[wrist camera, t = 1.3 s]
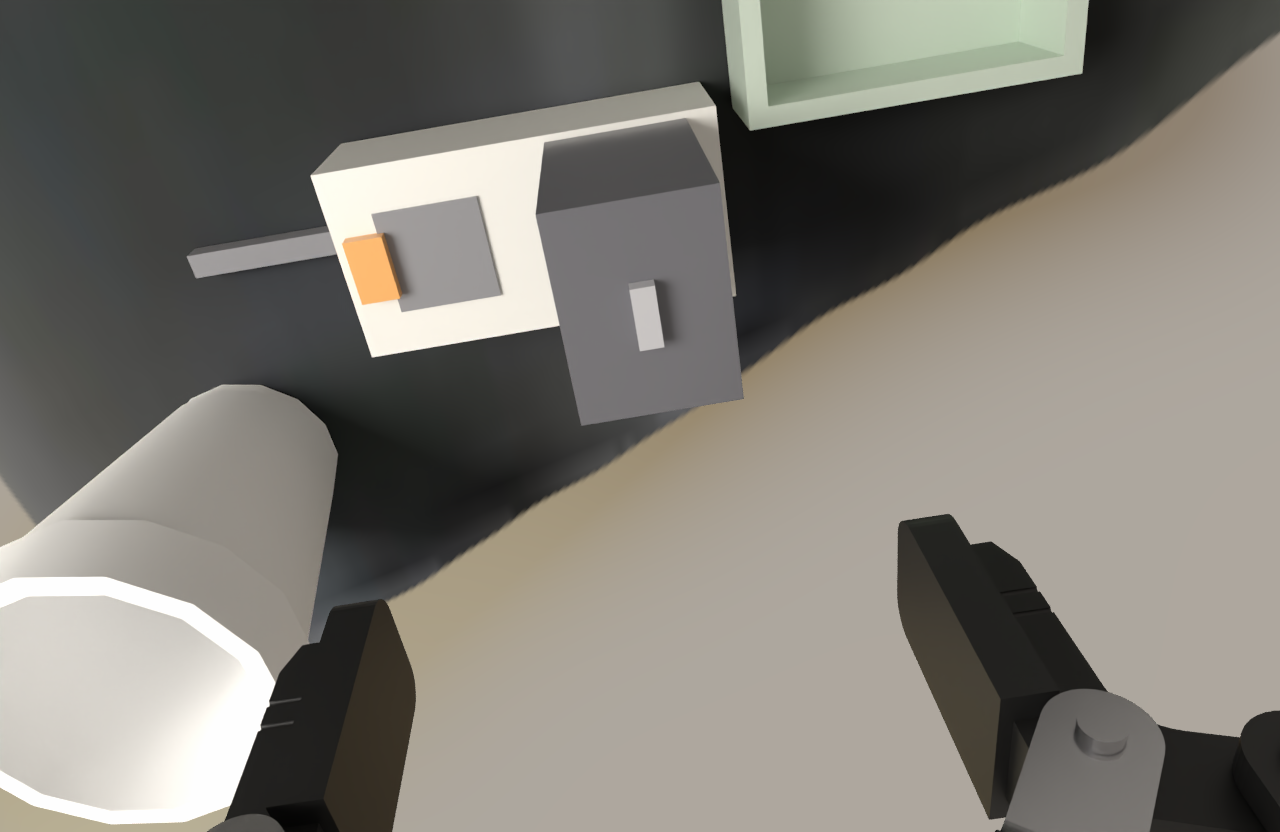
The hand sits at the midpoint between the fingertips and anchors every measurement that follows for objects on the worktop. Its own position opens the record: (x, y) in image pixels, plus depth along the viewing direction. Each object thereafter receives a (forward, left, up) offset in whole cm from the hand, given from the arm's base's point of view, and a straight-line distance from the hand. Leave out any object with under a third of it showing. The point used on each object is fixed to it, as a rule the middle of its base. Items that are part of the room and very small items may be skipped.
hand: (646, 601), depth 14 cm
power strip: (-1, -5, -20) cm, 21 cm away
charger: (-1, +1, -18) cm, 18 cm away
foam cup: (+7, -15, -20) cm, 26 cm away
